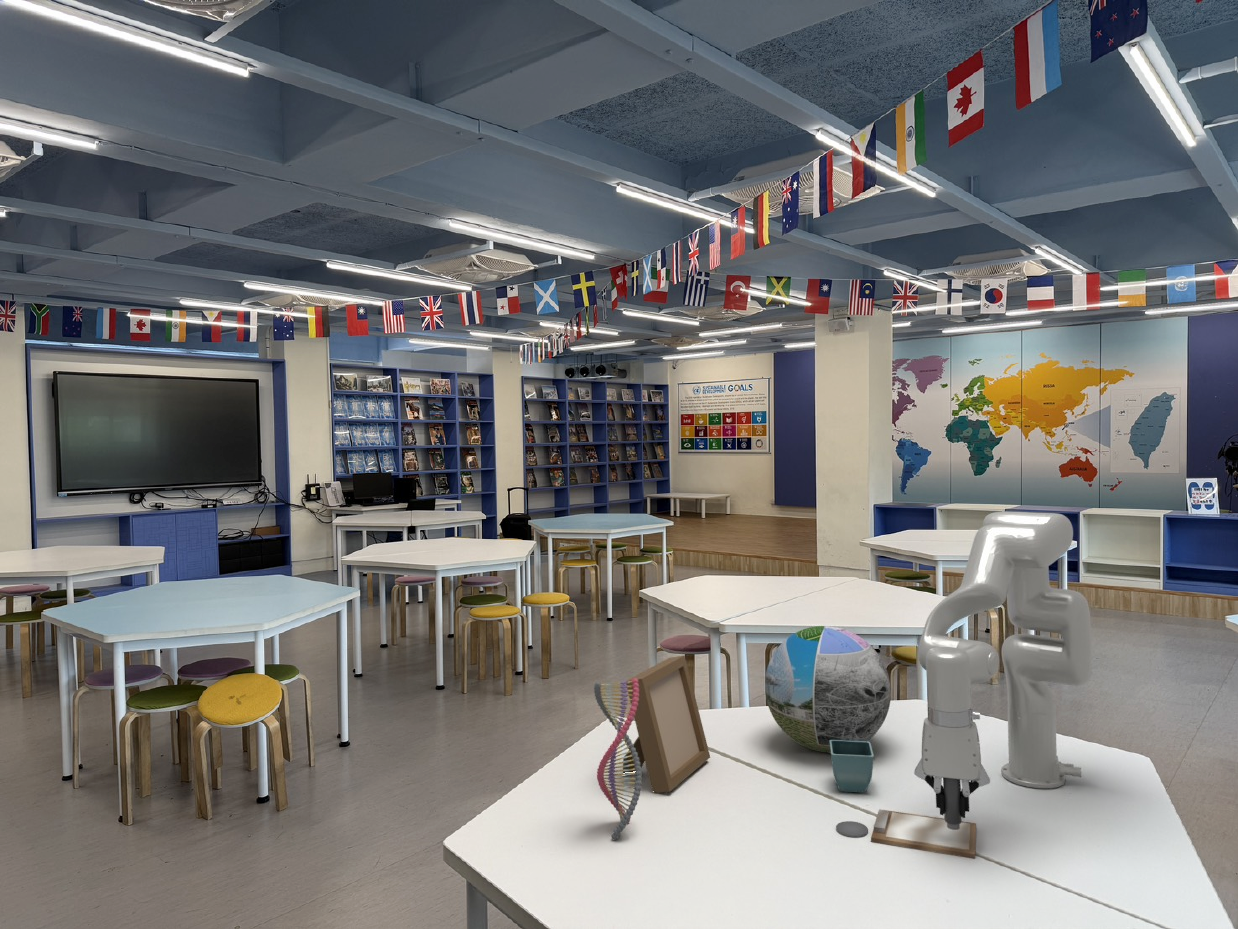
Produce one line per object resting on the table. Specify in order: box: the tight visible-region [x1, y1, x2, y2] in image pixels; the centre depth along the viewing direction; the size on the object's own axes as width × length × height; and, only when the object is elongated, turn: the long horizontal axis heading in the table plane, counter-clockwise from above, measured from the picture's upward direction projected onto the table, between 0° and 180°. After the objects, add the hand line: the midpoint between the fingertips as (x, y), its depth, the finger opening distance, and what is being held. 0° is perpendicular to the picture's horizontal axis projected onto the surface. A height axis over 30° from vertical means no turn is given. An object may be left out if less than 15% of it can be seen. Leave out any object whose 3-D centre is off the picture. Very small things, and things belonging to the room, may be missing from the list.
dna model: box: [593, 678, 643, 841], centre depth 163 cm, size 9×9×30 cm
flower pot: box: [830, 740, 875, 793], centre depth 180 cm, size 9×9×9 cm
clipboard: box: [870, 808, 977, 859], centre depth 158 cm, size 18×13×2 cm
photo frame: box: [622, 654, 711, 794], centre depth 192 cm, size 15×22×25 cm
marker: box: [942, 778, 963, 830], centre depth 154 cm, size 3×3×12 cm
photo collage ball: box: [764, 625, 892, 754], centre depth 204 cm, size 30×30×30 cm
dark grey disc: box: [835, 820, 869, 839], centre depth 161 cm, size 6×6×1 cm
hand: (952, 812), depth 154 cm, fingers closed on marker, 3 cm apart
